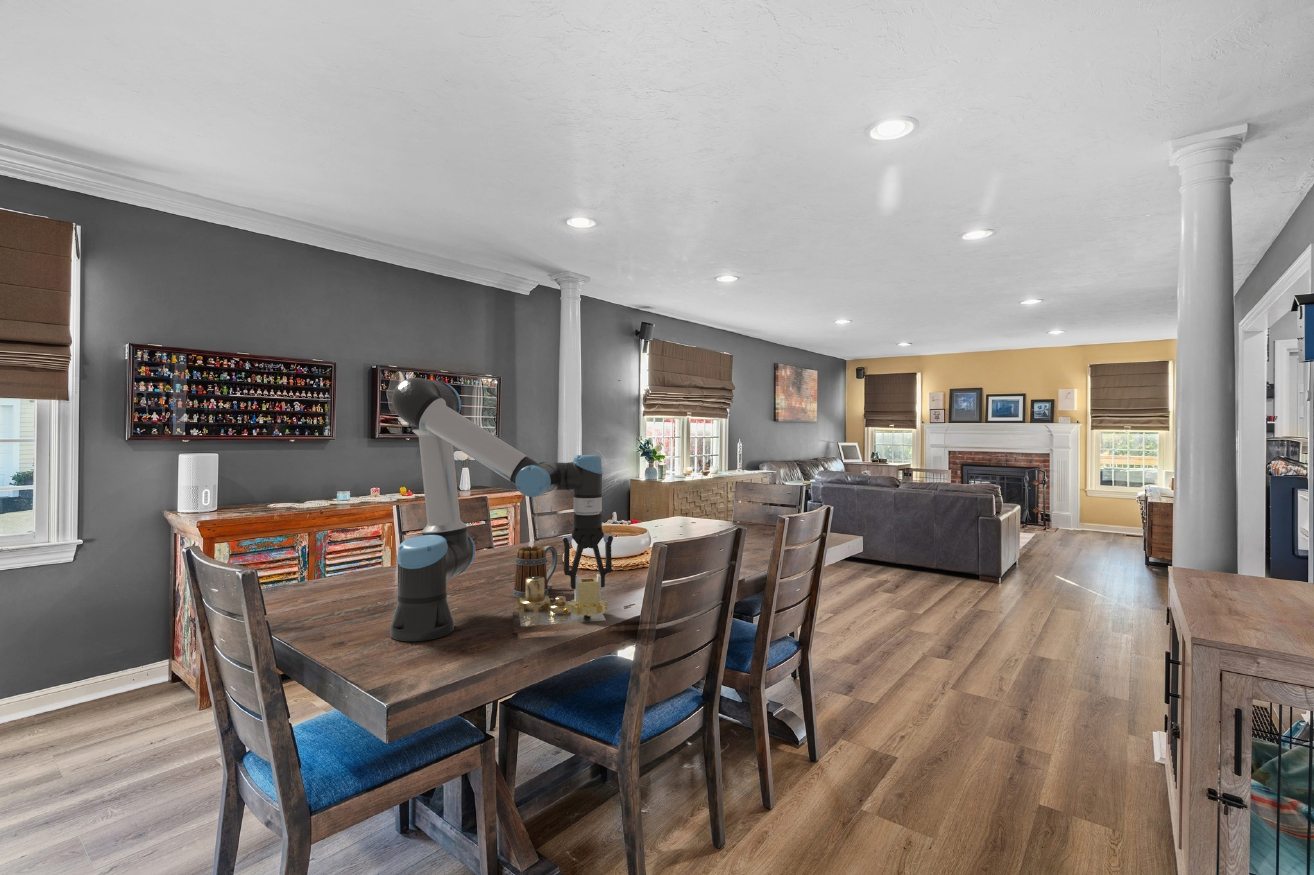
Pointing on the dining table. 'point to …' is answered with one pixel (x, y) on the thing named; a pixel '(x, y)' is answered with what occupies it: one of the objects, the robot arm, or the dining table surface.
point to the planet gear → (588, 599)
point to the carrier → (547, 607)
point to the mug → (533, 567)
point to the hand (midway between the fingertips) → (587, 599)
